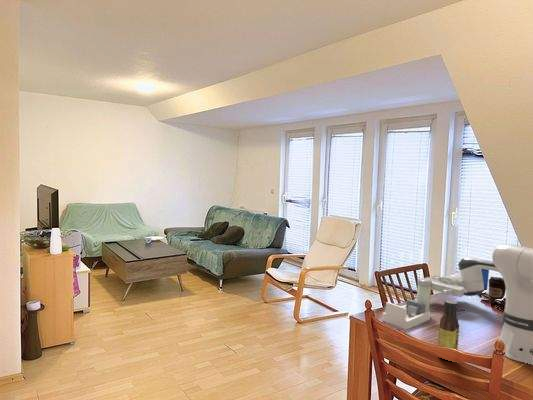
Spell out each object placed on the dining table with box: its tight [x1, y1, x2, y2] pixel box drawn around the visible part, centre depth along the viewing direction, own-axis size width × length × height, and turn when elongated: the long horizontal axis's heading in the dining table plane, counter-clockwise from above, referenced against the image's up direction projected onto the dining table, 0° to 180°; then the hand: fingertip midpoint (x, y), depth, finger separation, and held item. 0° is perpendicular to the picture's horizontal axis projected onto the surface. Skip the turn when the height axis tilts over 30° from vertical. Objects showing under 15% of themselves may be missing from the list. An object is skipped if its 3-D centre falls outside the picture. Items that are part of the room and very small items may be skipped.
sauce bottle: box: [437, 299, 460, 351], centre depth 135 cm, size 7×6×20 cm
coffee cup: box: [488, 276, 506, 304], centre depth 201 cm, size 9×8×13 cm
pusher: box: [405, 299, 426, 315], centre depth 173 cm, size 8×4×6 cm, turn 41°
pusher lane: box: [381, 301, 431, 331], centre depth 169 cm, size 11×20×8 cm, turn 131°
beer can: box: [482, 269, 490, 291], centre depth 219 cm, size 8×8×16 cm
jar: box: [415, 278, 432, 312], centre depth 178 cm, size 6×6×16 cm
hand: (434, 289), depth 186 cm, fingers open, 8 cm apart
